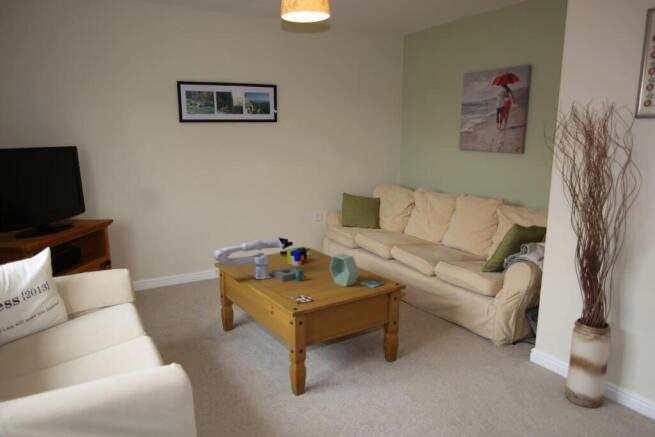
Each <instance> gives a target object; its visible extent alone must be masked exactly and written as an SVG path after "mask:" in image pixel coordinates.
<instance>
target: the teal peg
mask: <svg viewBox="0 0 655 437" xmlns="http://www.w3.org/2000/svg"><path fill="white" fill-rule="evenodd" d="M300 281H301V282H304V269H300V268H297V270H296V279H295V282H298V283H300Z"/></svg>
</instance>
